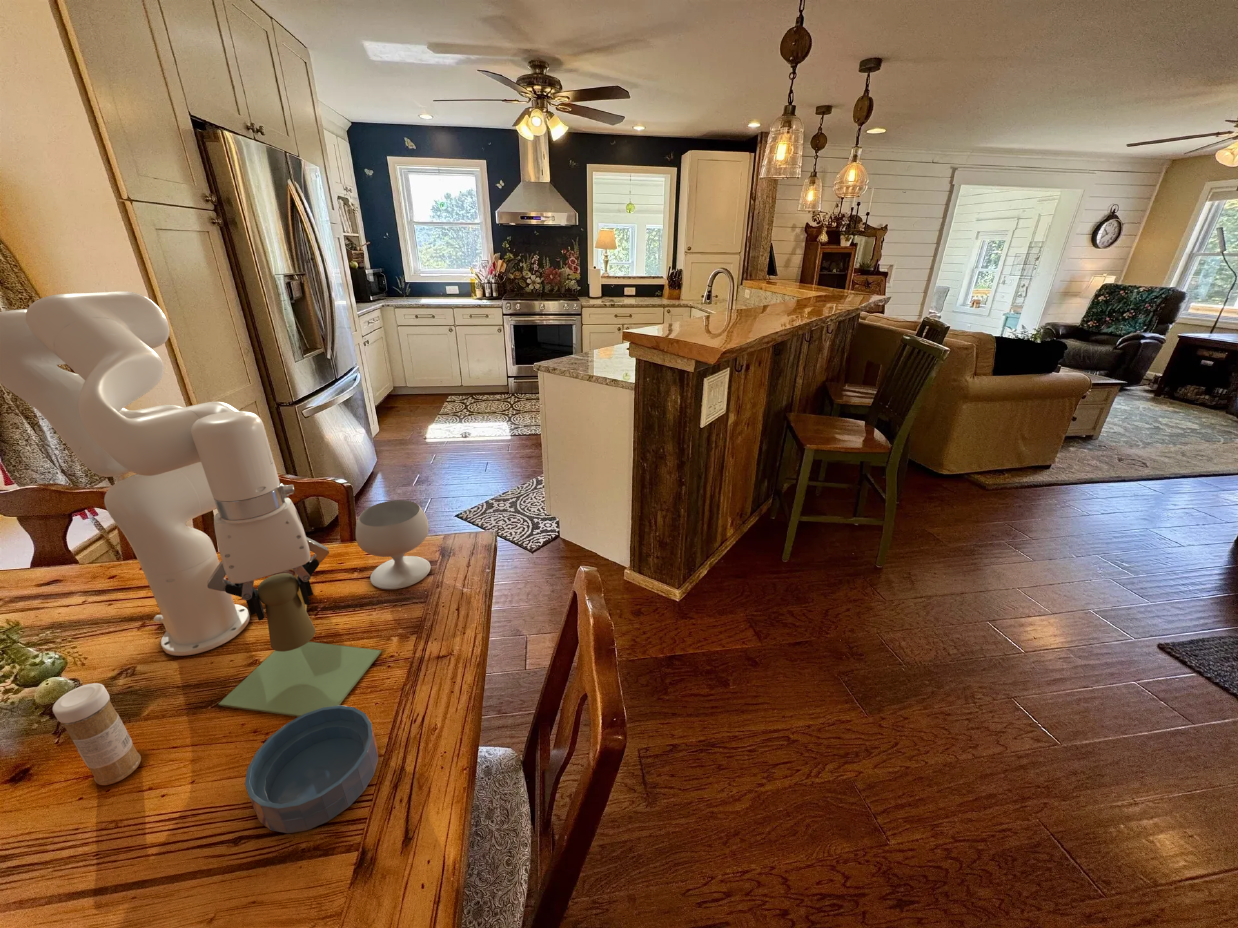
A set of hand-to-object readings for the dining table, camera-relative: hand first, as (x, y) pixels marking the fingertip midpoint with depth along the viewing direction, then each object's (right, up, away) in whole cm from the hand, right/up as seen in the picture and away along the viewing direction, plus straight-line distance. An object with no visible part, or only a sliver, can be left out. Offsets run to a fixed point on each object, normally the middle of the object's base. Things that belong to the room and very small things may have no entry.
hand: (283, 606), depth 75 cm
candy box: (-13, -6, +23) cm, 27 cm away
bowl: (+12, -20, -10) cm, 25 cm away
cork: (0, -6, +2) cm, 6 cm away
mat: (0, -13, +6) cm, 14 cm away
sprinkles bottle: (-16, -19, -9) cm, 27 cm away
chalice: (+4, -2, +32) cm, 32 cm away
